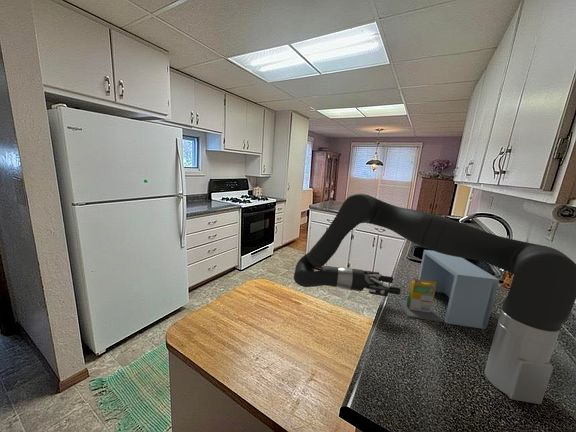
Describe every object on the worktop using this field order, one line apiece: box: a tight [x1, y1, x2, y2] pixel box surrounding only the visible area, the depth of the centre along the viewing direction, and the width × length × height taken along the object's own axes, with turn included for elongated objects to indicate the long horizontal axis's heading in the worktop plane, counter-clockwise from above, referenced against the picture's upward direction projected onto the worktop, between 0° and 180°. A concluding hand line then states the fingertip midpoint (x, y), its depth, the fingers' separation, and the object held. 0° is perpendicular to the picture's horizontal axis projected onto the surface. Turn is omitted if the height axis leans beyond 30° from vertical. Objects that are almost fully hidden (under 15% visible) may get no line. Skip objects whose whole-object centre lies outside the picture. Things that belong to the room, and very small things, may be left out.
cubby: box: [417, 249, 500, 330], centre depth 88 cm, size 25×12×17 cm, turn 172°
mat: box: [397, 299, 443, 323], centre depth 84 cm, size 10×11×1 cm
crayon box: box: [406, 278, 437, 313], centre depth 83 cm, size 7×3×12 cm, turn 83°
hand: (396, 285), depth 84 cm, fingers open, 8 cm apart
